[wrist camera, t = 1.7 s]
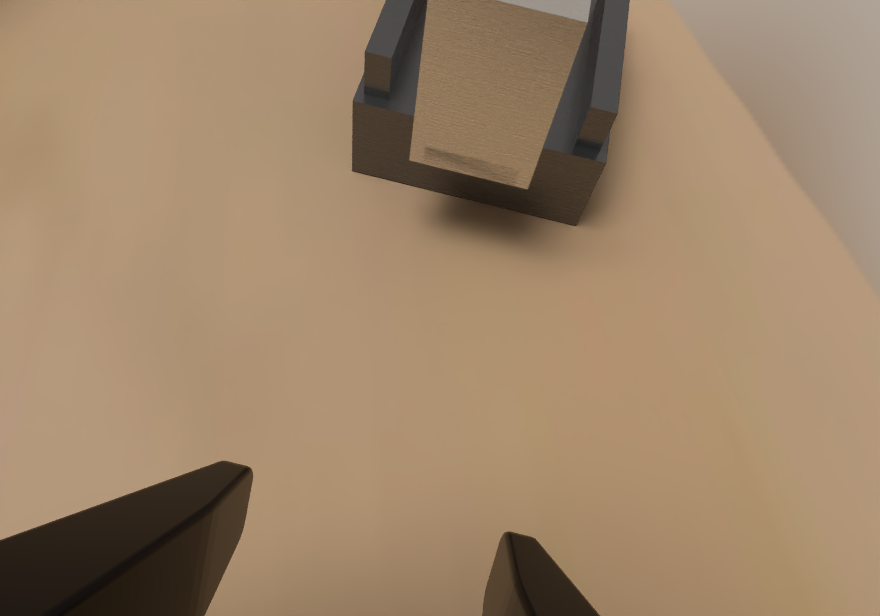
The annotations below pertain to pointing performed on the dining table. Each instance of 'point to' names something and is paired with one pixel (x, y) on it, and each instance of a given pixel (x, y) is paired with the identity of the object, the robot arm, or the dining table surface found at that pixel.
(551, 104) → the tapered wooden notched block
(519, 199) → the grey walled tray
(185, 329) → the dining table surface
